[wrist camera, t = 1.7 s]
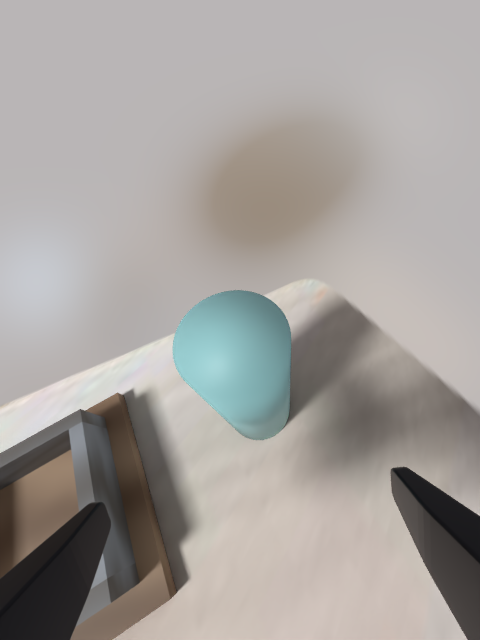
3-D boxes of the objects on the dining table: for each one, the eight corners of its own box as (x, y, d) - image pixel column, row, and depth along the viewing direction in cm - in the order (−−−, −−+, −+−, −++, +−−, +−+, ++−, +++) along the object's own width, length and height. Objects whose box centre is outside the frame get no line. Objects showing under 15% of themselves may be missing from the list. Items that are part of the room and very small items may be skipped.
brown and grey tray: (176, 592, 16) (146, 623, 12) (-58, 755, 14) (-169, 843, 10) (123, 395, 23) (95, 381, 20) (-33, 483, 21) (-94, 484, 18)
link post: (302, 417, 20) (317, 354, 10) (246, 453, 19) (200, 424, 9) (268, 366, 22) (251, 274, 12) (218, 395, 22) (157, 323, 12)
